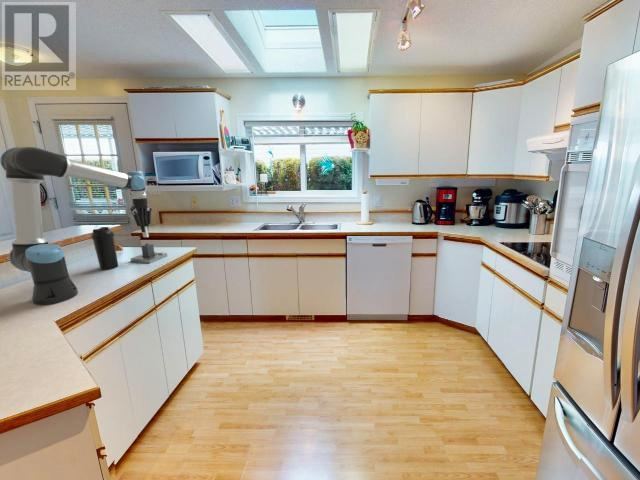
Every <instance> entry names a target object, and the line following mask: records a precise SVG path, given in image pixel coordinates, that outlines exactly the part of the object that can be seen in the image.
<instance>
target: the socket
mask: <svg viewBox="0 0 640 480" xmlns="http://www.w3.org/2000/svg"><path fill="white" fill-rule="evenodd" d="M154 253H155V256H152V257H150V258H144V257H143V254H139V255H137V256H134V257H131V258H130V262H131V263H141V264H151V263H154V262H157V261H159V260H161V259H164V258H167V257H168V253H166V252H164V251H162V252H161V251H160V252H158V251H157V252H155V251H154Z"/></svg>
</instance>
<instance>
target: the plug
mask: <svg viewBox="0 0 640 480" xmlns="http://www.w3.org/2000/svg"><path fill="white" fill-rule="evenodd" d="M140 249H141V252H142V254H143V257H144V258H150V257H152V256H155V253H154V252H155V248H154V244H152V243H149V242H145V243H144V244H142V245H141V246H140ZM142 254H141V255H142Z"/></svg>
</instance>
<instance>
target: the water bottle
mask: <svg viewBox="0 0 640 480" xmlns="http://www.w3.org/2000/svg"><path fill="white" fill-rule="evenodd" d="M109 228H110V226H102V227H100V228H97V229H96V228H94V229H92V234H91V239H92V243H93V245H94V248H95V254H96V257H97V260H98V264H99V269H100V270H101V271H108V270H113V269H116V268H118V267H119V263H118V262H119V261H118V256H117V249H116V244H115V238H114V237H115V232H114V231H112V230H111V229H109Z"/></svg>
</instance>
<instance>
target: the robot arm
mask: <svg viewBox="0 0 640 480" xmlns="http://www.w3.org/2000/svg"><path fill="white" fill-rule="evenodd" d="M0 165H1V167H2V168H3V170H4V171H5V177H6V180H8V181H9V182H11V188H12V198H13V199H12V200H13V213H14V224H15V225H14V226H15V233H16V234H15V235H16V236H15V237H16V239H14V240H13V241H12V242H11V244H12V245H11V247H12V249H10V252H9V254H8V260H9V262H10V264H11V265H12V266H13V267H15V268H16V269H19V270H20V271H23V272H27V273H30V275H31V278H32V279H31V280H32V282H33V288H32V289H33V290H32V296H31V301H32V303H33V305H36V306H37V305H38V306H47V305H52V304H57V303H60V302H64V301H67V300H69V299H72V298H74V297H76V296H77V295H78V293H79V291H78V288H77V286H76V285H75V283H74V282H73V280H72V279H71V278H70V275H69V270H68V266H67V262H66V257H65V252H64V251H63V248H62V247H61V246H60V245H58V244H56V243H49V240H48V239H46V238H45V237H44V227H43V214H42V204H41V203H42V202H41V191H40V190H41V187H40V184H41V183H43V182H44V180H45V179H44V176H50V177H57V178H64V177H69V178H73V179H78V180H83V181H84V180H85V181H88V182H94V183H98V184H102V185H105V186H106V188H107V189H109V190H110V191H114V190H115V191H118V190H125V191H127V190H128V191H130V194H131V198H132V204H133V207H134V208H133V210H131V212H130V214H131V215H133V218H134V221H135V223H136V226H137V227H140V230H141V232H142V237H143V238H149V237H150V235H149V227H150V225H151V222H152V221H151V219H152V218H151V217H152V216H151V215H152V209H153V208H151V207H150V208H149V206H148V204H149V203H148V198H147V192H146V180H145V177H144V174H143V171H140V170H131V171H129V170H128V171H127V173H124V172H122V171H121V172H120V171H116V170H113V169H108V168H105V167H101V166H97V165H93V164H89V163H85V162H82V161H78V160H73V159H69V158H68V157H67V156H66V155H63V154H60V153H55V152H52V151H49V150H46V149H43V148H41V147H40V148H39V147H34V146H22V147H17V146H16V147H12V148H8V149H7V150H4V152H2V154H1V156H0Z"/></svg>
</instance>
